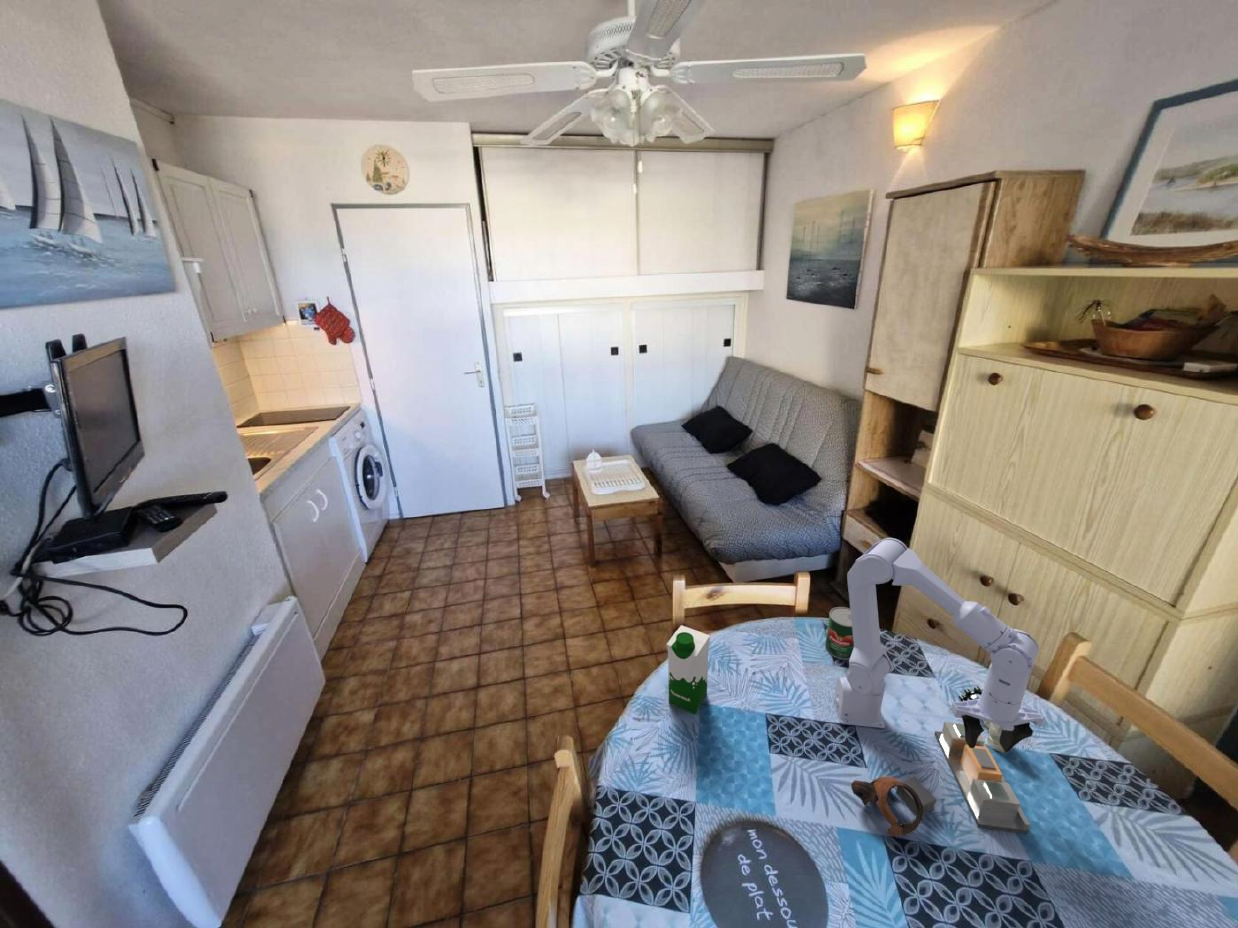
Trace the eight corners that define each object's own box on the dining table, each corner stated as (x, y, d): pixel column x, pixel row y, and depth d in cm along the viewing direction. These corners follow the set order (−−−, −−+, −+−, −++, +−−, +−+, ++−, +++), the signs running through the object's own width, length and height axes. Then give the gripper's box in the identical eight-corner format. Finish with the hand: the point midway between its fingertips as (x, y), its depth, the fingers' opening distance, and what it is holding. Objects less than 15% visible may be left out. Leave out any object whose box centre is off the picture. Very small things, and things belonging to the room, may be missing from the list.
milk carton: (663, 703, 122) (662, 637, 115) (680, 679, 129) (680, 615, 122) (697, 719, 117) (698, 651, 110) (712, 692, 124) (714, 627, 117)
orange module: (973, 790, 98) (979, 770, 96) (960, 762, 104) (965, 743, 102) (996, 792, 97) (1003, 773, 96) (981, 764, 103) (987, 745, 101)
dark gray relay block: (917, 817, 95) (920, 806, 94) (895, 793, 100) (898, 782, 98) (933, 809, 96) (936, 799, 95) (911, 786, 101) (913, 775, 100)
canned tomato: (828, 658, 133) (832, 624, 129) (822, 638, 141) (826, 605, 137) (860, 661, 132) (865, 627, 128) (852, 640, 139) (857, 607, 135)
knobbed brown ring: (903, 788, 101) (926, 783, 94) (906, 845, 95) (930, 843, 88) (842, 767, 102) (861, 760, 96) (841, 822, 96) (861, 818, 90)
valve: (1020, 754, 106) (985, 707, 117) (1028, 731, 104) (991, 685, 115) (987, 753, 106) (955, 707, 118) (994, 730, 104) (961, 685, 115)
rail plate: (977, 827, 93) (985, 805, 91) (934, 734, 111) (939, 714, 109) (1026, 833, 91) (1035, 811, 89) (974, 738, 110) (980, 718, 107)
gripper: (969, 705, 90) (954, 759, 95) (1061, 714, 88) (1041, 769, 93) (952, 675, 97) (939, 727, 102) (1037, 683, 94) (1019, 736, 99)
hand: (986, 745), depth 98 cm, fingers open, 5 cm apart
